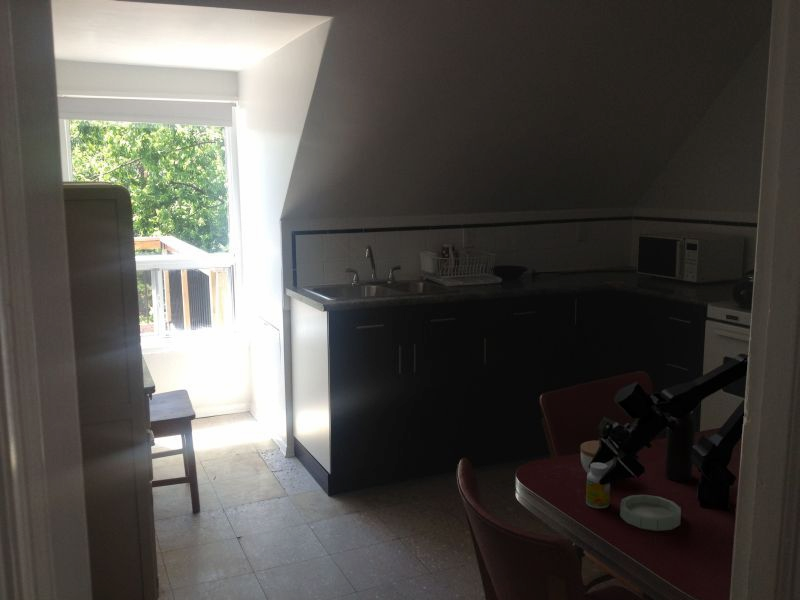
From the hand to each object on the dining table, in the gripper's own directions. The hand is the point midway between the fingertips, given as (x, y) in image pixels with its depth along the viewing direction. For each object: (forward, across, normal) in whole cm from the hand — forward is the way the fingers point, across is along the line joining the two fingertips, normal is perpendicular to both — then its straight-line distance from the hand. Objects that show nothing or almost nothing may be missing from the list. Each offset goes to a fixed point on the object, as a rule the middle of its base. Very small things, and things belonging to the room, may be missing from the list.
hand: (594, 475), depth 175 cm
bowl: (-3, +7, +13) cm, 15 cm away
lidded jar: (+1, -17, +10) cm, 20 cm away
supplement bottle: (+4, 0, +6) cm, 7 cm away
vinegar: (-14, -16, +24) cm, 32 cm away
